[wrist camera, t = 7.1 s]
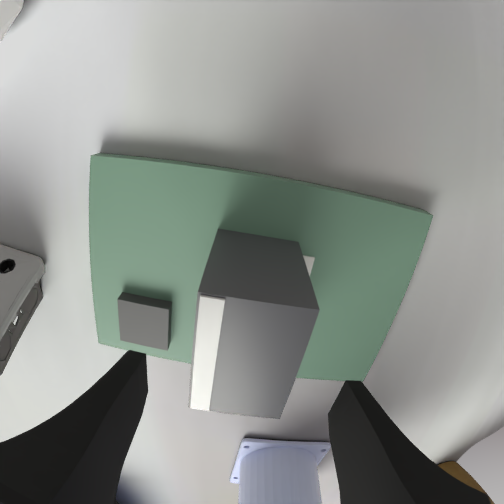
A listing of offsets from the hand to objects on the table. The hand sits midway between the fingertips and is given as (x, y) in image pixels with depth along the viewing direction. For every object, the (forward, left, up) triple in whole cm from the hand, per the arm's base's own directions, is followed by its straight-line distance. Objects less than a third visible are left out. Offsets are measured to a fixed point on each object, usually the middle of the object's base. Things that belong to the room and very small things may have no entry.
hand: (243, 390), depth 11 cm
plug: (0, 0, -7) cm, 7 cm away
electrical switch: (-3, +17, -8) cm, 19 cm away
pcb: (0, 0, -8) cm, 8 cm away
